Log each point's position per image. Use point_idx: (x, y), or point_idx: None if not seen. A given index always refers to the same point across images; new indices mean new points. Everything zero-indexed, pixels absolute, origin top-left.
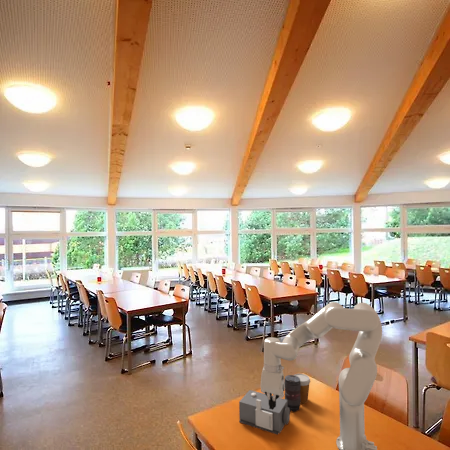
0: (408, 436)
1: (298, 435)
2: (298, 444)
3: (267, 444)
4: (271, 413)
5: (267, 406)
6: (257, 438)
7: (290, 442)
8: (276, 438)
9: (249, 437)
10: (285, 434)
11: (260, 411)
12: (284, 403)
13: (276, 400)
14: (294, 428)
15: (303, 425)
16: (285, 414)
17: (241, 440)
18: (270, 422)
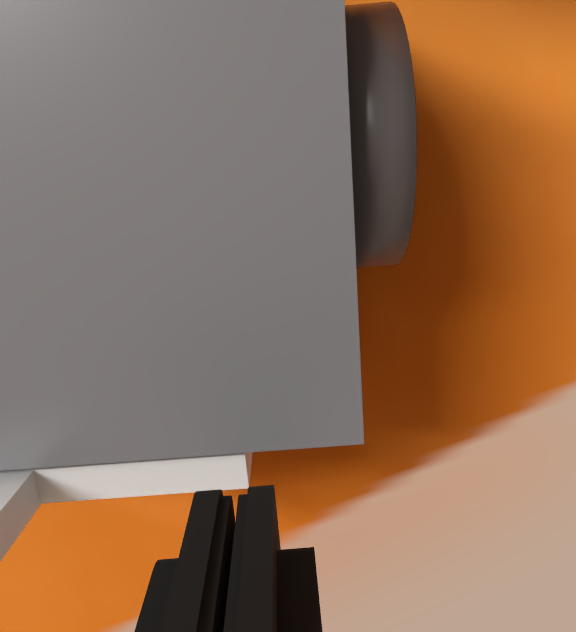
0: None
1: (527, 248)
2: (558, 379)
3: (292, 523)
4: (232, 473)
5: (77, 370)
6: (173, 503)
7: (477, 393)
8: None
9: (102, 528)
10: (392, 309)
11: (45, 499)
12: (328, 70)
13: (116, 52)
14: (452, 151)
15: (542, 23)
16: (399, 251)
17: (67, 592)
18: None
